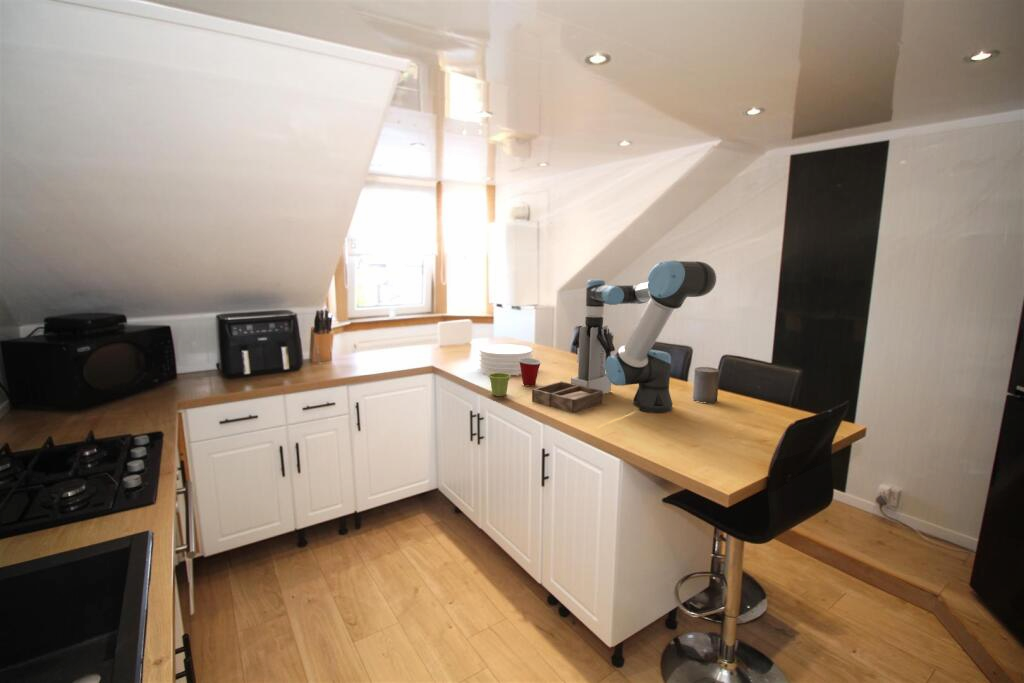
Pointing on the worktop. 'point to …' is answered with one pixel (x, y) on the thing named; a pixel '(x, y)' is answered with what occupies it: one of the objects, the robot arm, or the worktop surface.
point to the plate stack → (503, 358)
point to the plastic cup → (529, 370)
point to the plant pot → (499, 383)
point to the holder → (594, 383)
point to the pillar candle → (706, 384)
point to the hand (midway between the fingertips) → (592, 364)
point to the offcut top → (575, 394)
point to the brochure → (590, 355)
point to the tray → (553, 399)
